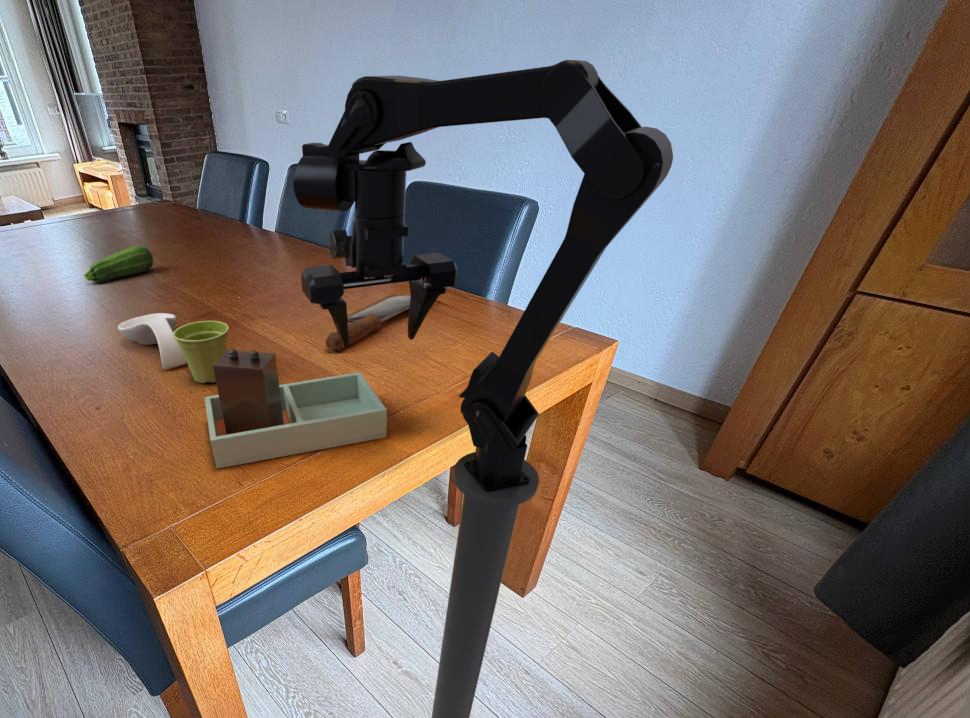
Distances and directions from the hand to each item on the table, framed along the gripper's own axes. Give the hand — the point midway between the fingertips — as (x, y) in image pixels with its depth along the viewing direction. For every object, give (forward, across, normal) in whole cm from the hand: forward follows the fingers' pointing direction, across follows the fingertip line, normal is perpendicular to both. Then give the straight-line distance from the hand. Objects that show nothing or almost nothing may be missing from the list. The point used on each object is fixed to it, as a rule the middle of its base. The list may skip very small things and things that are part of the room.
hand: (378, 343), depth 68 cm
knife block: (+12, +18, -3) cm, 22 cm away
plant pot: (+13, +23, -26) cm, 37 cm away
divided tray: (+13, +12, -3) cm, 18 cm away
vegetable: (+13, +43, -101) cm, 111 cm away
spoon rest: (+13, +32, -43) cm, 55 cm away
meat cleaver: (+13, -12, -41) cm, 45 cm away
